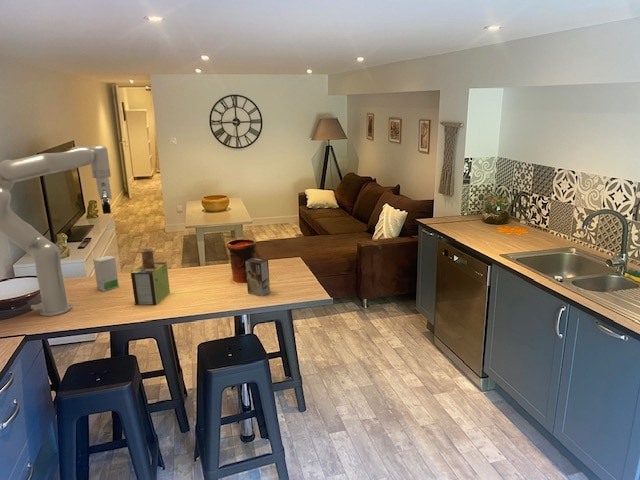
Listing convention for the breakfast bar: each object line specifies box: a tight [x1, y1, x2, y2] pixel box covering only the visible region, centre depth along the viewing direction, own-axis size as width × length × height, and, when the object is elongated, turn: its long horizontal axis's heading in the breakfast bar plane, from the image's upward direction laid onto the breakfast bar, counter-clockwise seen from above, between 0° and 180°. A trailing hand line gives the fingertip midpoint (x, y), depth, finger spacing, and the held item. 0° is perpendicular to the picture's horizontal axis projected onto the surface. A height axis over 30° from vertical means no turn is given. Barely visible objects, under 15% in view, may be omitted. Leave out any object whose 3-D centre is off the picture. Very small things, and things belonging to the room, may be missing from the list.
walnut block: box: [140, 247, 155, 269], centre depth 217 cm, size 4×4×8 cm
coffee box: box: [245, 257, 271, 297], centre depth 224 cm, size 9×6×16 cm
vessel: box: [226, 238, 257, 285], centre depth 241 cm, size 14×14×20 cm
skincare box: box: [93, 255, 120, 292], centre depth 234 cm, size 8×7×16 cm
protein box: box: [130, 261, 171, 306], centre depth 220 cm, size 10×15×16 cm
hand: (106, 211), depth 217 cm, fingers open, 9 cm apart
